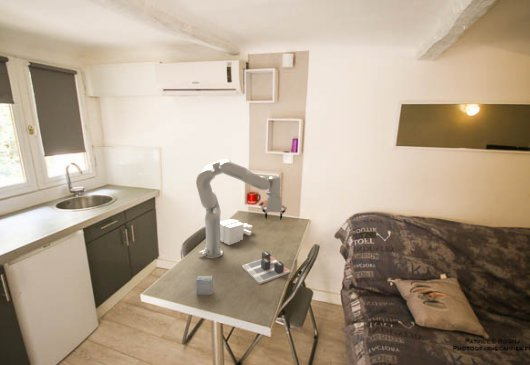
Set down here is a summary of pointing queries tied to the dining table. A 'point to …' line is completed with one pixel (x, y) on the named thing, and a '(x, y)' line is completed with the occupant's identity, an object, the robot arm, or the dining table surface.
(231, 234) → the blocky voxel creature
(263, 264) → the toggle
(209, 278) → the medicine box
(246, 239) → the dining table surface
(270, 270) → the panel
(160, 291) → the dining table surface
